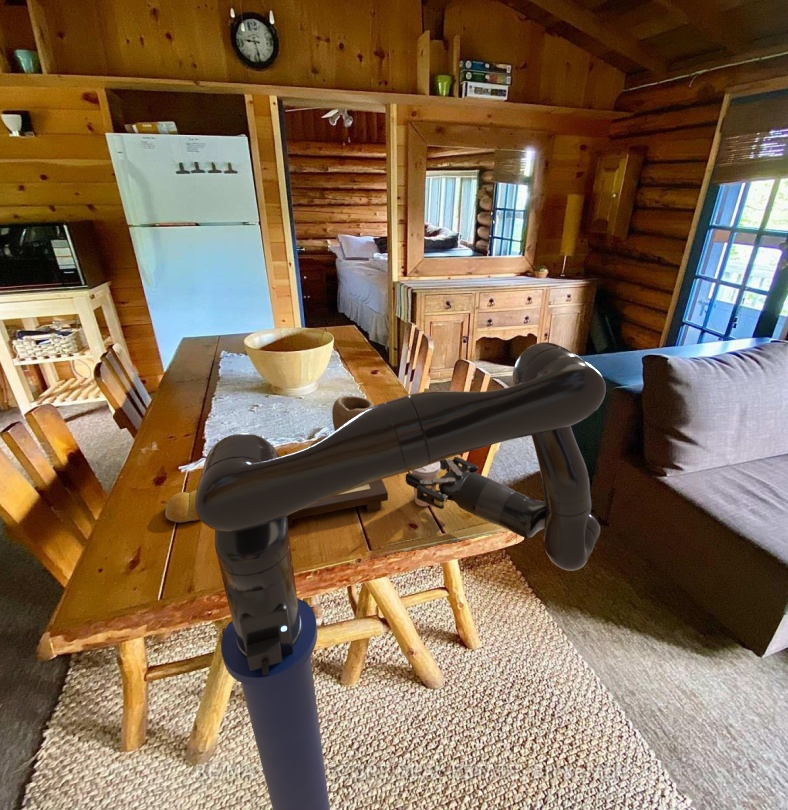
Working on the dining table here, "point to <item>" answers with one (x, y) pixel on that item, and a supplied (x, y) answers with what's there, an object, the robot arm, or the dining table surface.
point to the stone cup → (346, 411)
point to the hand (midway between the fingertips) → (419, 467)
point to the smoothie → (426, 478)
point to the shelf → (347, 501)
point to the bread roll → (182, 507)
